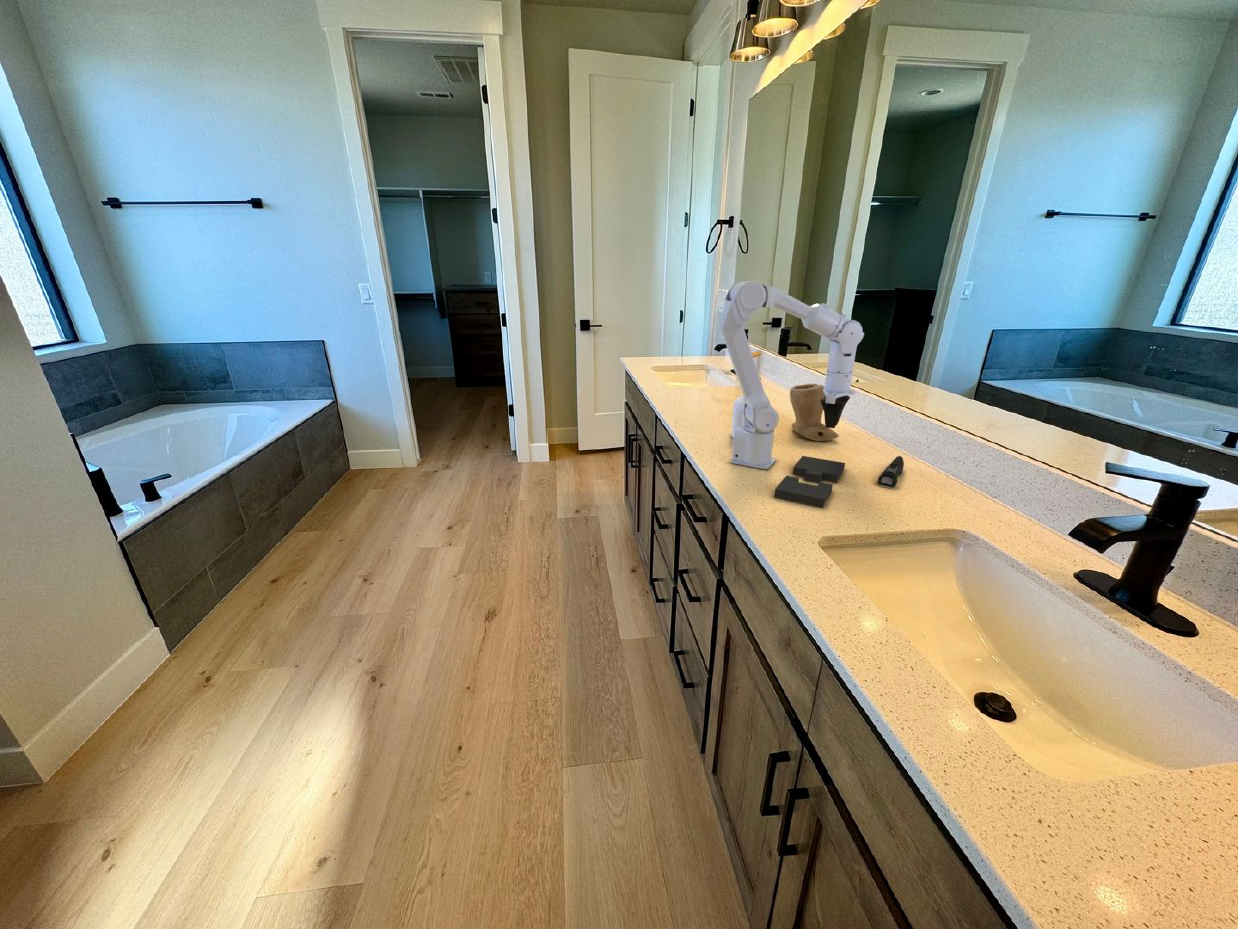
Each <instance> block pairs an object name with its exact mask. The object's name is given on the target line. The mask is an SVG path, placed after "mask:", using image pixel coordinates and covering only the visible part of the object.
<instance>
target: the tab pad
mask: <svg viewBox="0 0 1238 929" xmlns="http://www.w3.org/2000/svg"><path fill="white" fill-rule="evenodd" d="M845 467H846V463H845V462H842V461H835V460H832V459H831V460H830V459H824V458H819V457H814V456H813V457H812V456H806V455H802V456H801V457H800V458H799V459H798V460H797V462H796V463H795V464H794V466H793V467H792V475H793V476H796V477H803V478H804V482H809V483H815V484H818V483H819V482H823V481H825V482H828V483H829V482H830V483H834V484H838V482H839V480H840V479H841V477H842V475H843V473H844V471H845Z"/></svg>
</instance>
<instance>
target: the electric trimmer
mask: <svg viewBox="0 0 1238 929" xmlns="http://www.w3.org/2000/svg"><path fill="white" fill-rule="evenodd" d="M904 466H905V462H904V458H903V456H901V455H898V456H896V457H895V458H894V459H893V460H892V461H891V462H890V463H889V464H888V466H887V467H886V468H885V469H884V470H883V471H882V472H881V474H879V477H878V479H877V484H878V486H880V487H883V488H888V489H891V488H895V487H896V486H897V484H898V483H897V482H898V477H899V476H902V474H903V471H904Z"/></svg>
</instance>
